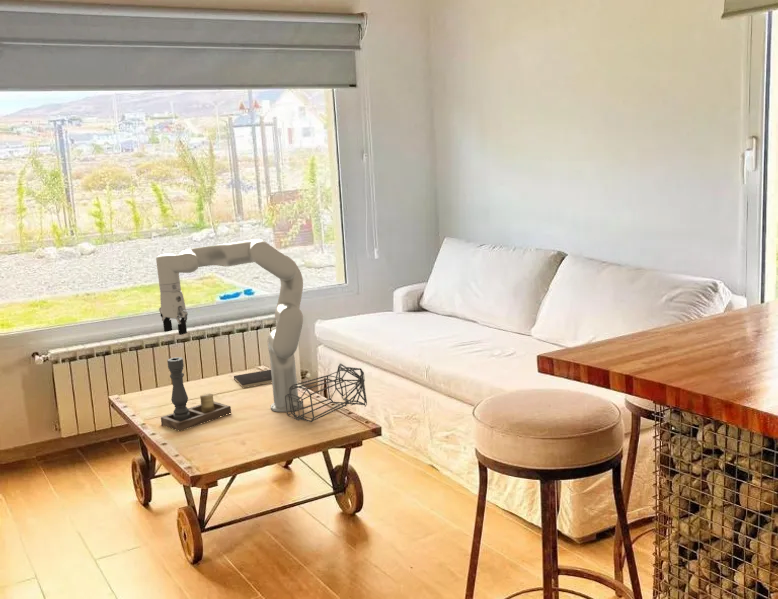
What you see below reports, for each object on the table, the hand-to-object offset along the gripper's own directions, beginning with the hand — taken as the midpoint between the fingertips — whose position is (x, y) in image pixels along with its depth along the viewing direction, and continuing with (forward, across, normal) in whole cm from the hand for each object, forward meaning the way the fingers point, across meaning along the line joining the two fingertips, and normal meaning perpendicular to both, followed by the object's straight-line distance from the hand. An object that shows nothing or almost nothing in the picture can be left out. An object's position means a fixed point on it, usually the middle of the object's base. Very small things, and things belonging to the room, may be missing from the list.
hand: (175, 332), depth 323 cm
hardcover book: (+36, +20, -54) cm, 68 cm away
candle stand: (+35, 0, -4) cm, 36 cm away
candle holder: (+36, +1, +1) cm, 36 cm away
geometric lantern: (+29, -36, -22) cm, 51 cm away
